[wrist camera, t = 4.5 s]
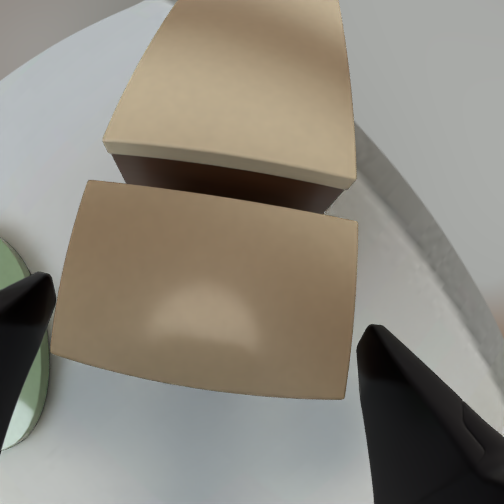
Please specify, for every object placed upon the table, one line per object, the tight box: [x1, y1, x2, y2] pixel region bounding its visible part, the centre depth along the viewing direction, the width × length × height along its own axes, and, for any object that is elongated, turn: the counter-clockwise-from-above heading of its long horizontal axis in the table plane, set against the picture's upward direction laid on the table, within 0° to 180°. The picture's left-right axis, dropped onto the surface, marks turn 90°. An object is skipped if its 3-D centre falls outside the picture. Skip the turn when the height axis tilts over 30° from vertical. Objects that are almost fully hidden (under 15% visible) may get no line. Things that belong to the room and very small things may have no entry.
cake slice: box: [50, 180, 358, 400], centre depth 11 cm, size 4×6×10 cm, turn 83°
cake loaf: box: [103, 0, 357, 214], centre depth 13 cm, size 10×6×10 cm, turn 173°
